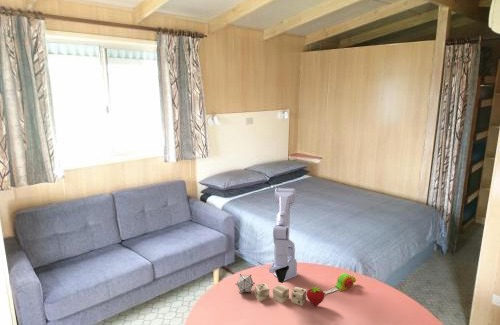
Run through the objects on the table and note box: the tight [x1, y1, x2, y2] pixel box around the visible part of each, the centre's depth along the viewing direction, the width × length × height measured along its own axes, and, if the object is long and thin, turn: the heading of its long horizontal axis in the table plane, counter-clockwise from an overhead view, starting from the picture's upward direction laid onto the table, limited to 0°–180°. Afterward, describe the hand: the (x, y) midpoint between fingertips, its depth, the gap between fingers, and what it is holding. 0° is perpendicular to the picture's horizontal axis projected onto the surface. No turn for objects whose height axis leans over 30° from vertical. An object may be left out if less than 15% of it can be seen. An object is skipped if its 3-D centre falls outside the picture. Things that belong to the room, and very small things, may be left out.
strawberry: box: [306, 285, 326, 307], centre depth 144 cm, size 6×8×10 cm
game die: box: [235, 273, 256, 294], centre depth 156 cm, size 9×8×10 cm
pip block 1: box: [254, 282, 270, 302], centre depth 152 cm, size 5×5×5 cm
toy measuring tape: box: [321, 272, 357, 295], centre depth 158 cm, size 6×19×7 cm, turn 115°
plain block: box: [272, 283, 290, 304], centre depth 151 cm, size 5×5×5 cm
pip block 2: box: [290, 286, 307, 307], centre depth 149 cm, size 5×5×5 cm
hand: (281, 281), depth 150 cm, fingers closed
